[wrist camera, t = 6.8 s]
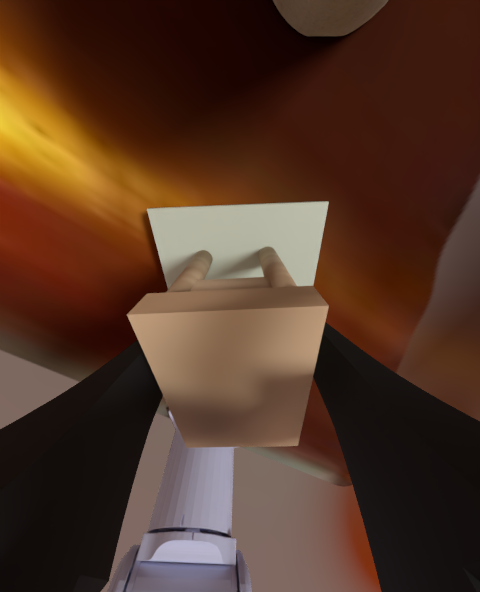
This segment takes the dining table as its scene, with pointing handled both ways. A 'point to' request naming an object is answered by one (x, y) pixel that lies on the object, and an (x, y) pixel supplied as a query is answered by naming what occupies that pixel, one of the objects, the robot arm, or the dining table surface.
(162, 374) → the stool
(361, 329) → the dining table surface
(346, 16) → the flower pot
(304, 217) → the board
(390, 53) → the dining table surface
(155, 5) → the dining table surface
